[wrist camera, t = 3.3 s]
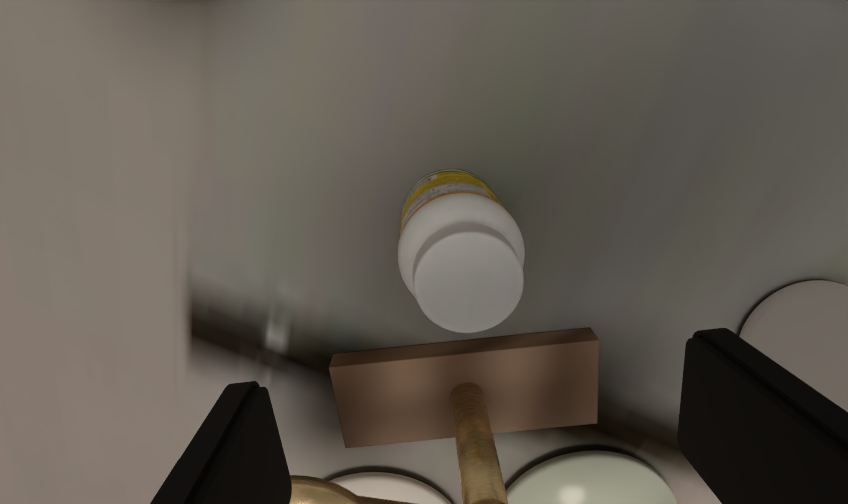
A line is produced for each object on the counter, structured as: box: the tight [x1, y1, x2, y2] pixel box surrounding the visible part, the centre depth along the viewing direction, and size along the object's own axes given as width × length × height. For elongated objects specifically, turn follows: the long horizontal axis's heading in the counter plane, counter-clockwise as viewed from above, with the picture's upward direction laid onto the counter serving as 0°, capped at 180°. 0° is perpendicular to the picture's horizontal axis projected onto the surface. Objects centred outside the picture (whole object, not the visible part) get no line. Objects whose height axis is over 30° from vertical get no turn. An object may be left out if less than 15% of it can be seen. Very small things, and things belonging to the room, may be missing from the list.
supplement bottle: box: [398, 169, 525, 333], centre depth 20 cm, size 5×5×10 cm
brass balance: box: [289, 328, 599, 504], centre depth 21 cm, size 23×7×15 cm, turn 96°
